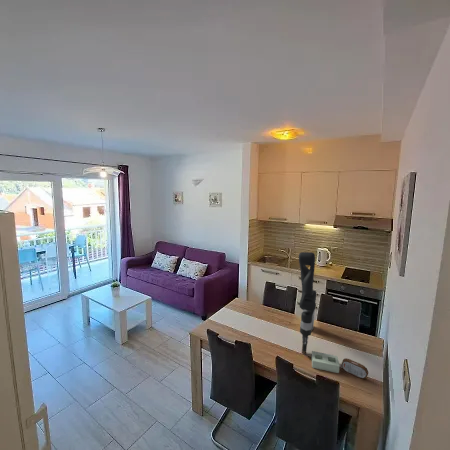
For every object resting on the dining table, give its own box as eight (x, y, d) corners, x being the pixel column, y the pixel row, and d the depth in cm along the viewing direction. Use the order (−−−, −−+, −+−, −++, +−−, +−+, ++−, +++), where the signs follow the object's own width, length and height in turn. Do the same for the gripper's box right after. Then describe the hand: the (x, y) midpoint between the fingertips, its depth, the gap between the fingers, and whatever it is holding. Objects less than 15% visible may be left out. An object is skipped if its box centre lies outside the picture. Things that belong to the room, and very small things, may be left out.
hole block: (311, 357, 172) (312, 350, 171) (336, 362, 168) (337, 355, 167) (312, 367, 163) (312, 360, 162) (338, 373, 158) (339, 366, 157)
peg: (301, 351, 178) (302, 338, 177) (306, 352, 177) (307, 339, 176) (301, 354, 175) (302, 341, 174) (306, 354, 175) (307, 342, 173)
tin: (367, 378, 154) (369, 366, 152) (366, 382, 152) (368, 369, 150) (341, 367, 163) (343, 355, 162) (340, 369, 161) (341, 358, 160)
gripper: (300, 320, 181) (298, 342, 184) (300, 331, 167) (298, 354, 170) (311, 322, 179) (309, 344, 181) (312, 333, 165) (310, 356, 168)
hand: (304, 349), depth 176 cm, fingers closed on peg, 3 cm apart
